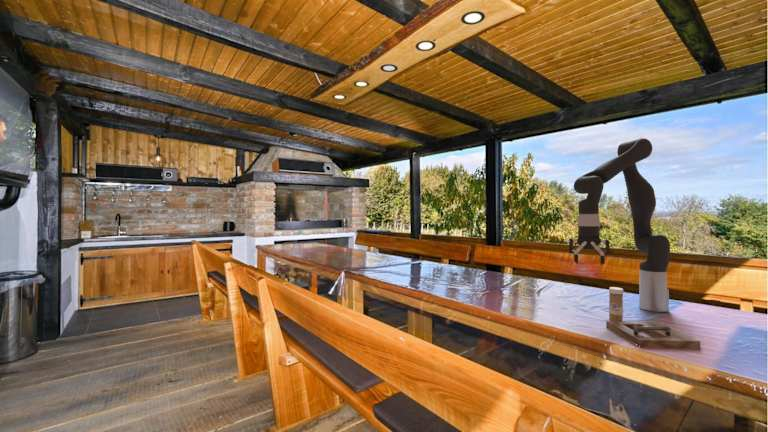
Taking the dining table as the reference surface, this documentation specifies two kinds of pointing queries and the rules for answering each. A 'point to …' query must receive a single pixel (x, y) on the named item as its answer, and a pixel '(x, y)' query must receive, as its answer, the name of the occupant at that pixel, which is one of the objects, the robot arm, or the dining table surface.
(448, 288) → the dining table surface
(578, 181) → the robot arm
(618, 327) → the flat wooden frame
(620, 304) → the sprinkles bottle
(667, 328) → the hook rod
